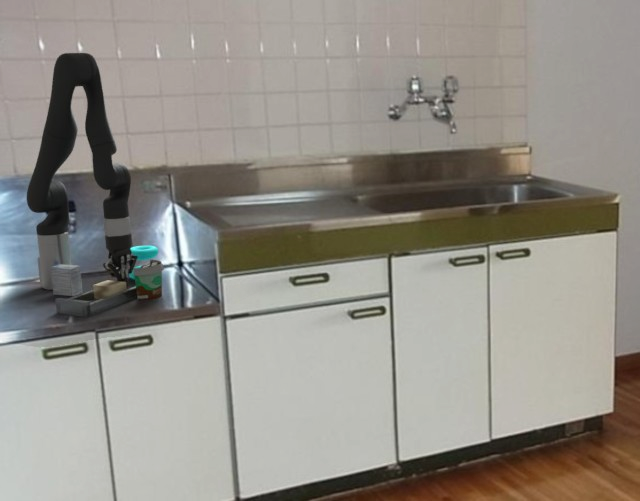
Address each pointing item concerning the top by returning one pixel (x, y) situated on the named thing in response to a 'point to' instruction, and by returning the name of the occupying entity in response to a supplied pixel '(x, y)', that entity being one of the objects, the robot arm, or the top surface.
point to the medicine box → (66, 280)
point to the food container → (149, 280)
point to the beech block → (108, 288)
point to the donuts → (143, 254)
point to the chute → (92, 302)
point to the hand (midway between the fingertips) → (123, 289)
